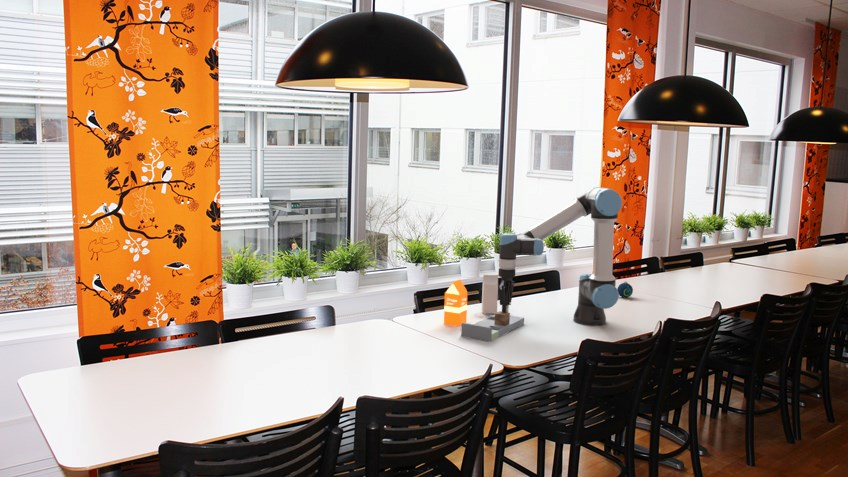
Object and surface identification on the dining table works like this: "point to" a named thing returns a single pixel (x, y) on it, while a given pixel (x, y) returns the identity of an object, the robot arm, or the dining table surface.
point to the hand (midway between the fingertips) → (504, 319)
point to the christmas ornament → (625, 290)
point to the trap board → (489, 328)
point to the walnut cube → (502, 318)
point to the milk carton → (489, 294)
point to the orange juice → (455, 304)
